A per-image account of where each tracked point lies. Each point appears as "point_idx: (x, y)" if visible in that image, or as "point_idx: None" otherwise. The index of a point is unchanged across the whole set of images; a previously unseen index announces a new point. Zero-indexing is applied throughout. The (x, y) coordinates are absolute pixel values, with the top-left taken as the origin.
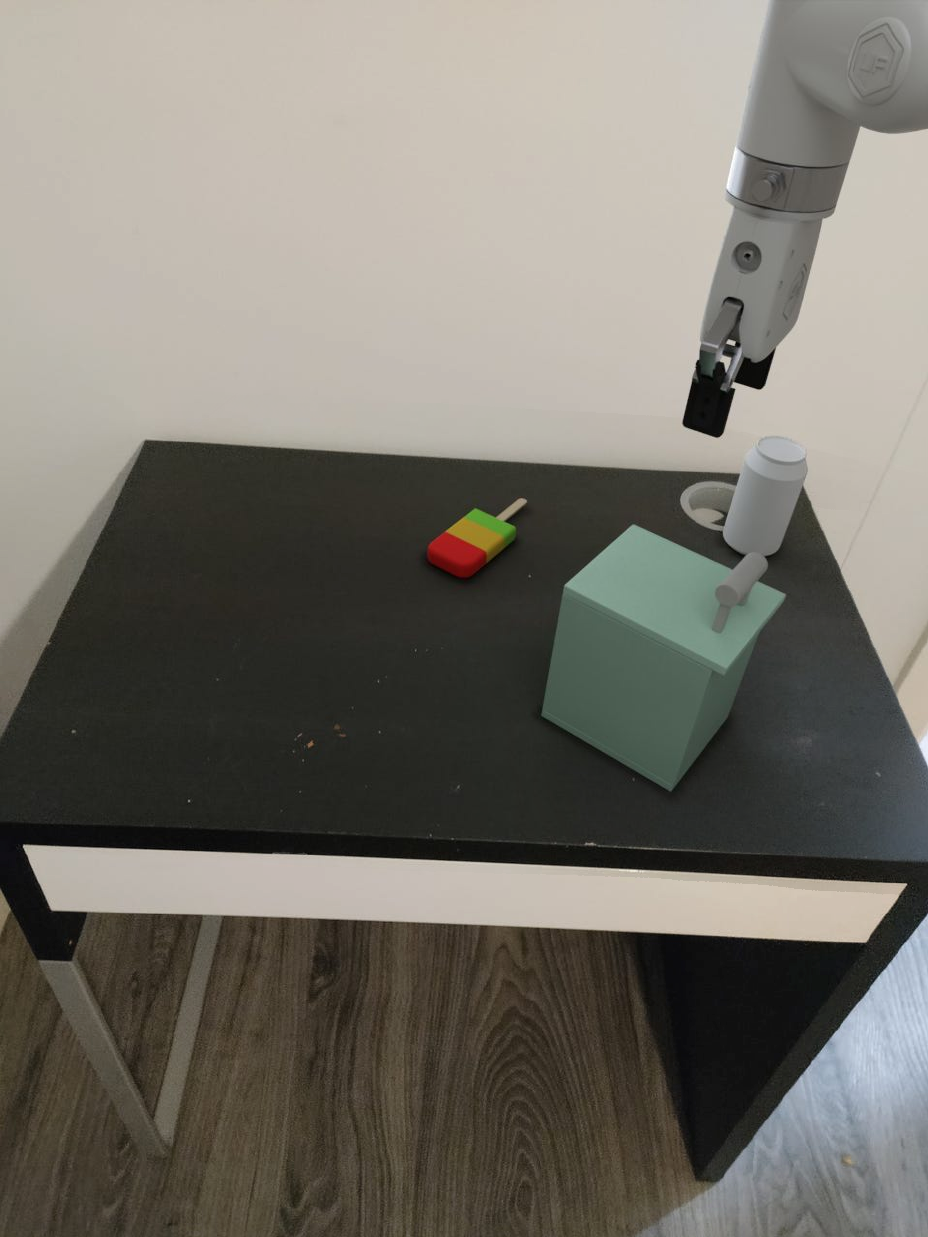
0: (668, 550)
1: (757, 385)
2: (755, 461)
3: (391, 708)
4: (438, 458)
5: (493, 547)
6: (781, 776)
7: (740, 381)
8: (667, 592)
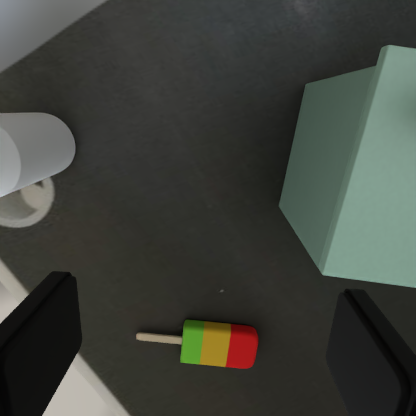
0: (359, 220)
1: (72, 286)
2: (5, 184)
3: (409, 307)
4: (123, 405)
5: (220, 330)
6: (355, 14)
7: (77, 320)
8: None
